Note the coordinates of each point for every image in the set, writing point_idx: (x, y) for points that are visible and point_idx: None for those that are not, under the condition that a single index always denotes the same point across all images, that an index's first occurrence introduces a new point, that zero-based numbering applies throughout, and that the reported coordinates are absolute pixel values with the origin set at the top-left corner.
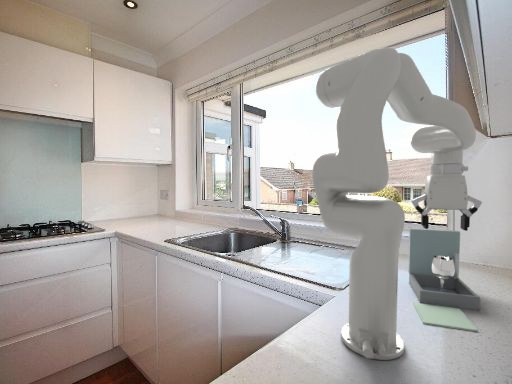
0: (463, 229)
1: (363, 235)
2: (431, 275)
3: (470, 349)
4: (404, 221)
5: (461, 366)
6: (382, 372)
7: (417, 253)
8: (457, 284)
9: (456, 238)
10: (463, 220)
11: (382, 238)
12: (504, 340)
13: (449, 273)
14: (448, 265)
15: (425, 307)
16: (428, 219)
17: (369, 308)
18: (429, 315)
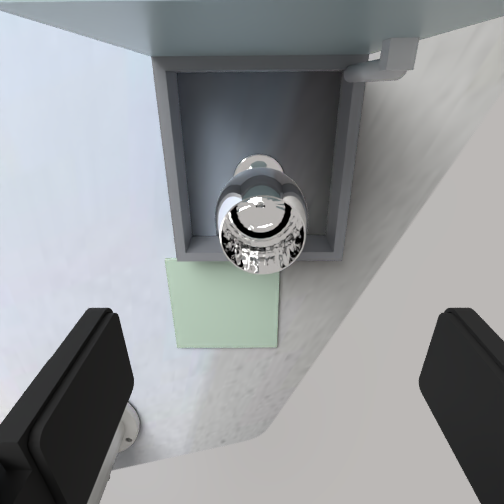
0: (423, 371)
1: None
2: (251, 59)
3: (240, 396)
4: None
5: (213, 431)
6: None
7: (159, 42)
8: (347, 85)
9: (474, 14)
10: (478, 451)
11: None
12: (312, 358)
13: (274, 251)
14: (272, 265)
15: (193, 280)
16: (96, 476)
17: None
18: (195, 317)
